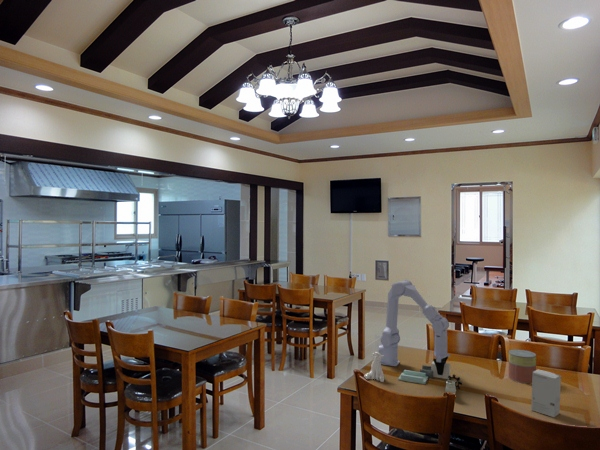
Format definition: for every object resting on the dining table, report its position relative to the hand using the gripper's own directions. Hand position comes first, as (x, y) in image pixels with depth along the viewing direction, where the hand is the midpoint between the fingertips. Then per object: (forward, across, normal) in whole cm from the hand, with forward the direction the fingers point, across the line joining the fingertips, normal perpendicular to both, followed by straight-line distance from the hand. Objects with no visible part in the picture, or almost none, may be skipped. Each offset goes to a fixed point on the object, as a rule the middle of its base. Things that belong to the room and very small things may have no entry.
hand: (440, 373), depth 193 cm
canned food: (+2, +13, -34) cm, 36 cm away
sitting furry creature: (+2, -15, +27) cm, 31 cm away
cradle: (+2, -9, +11) cm, 14 cm away
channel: (+2, 0, +6) cm, 6 cm away
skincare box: (+2, -21, -41) cm, 46 cm away
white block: (+2, 0, 0) cm, 2 cm away
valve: (+2, -19, -7) cm, 20 cm away
